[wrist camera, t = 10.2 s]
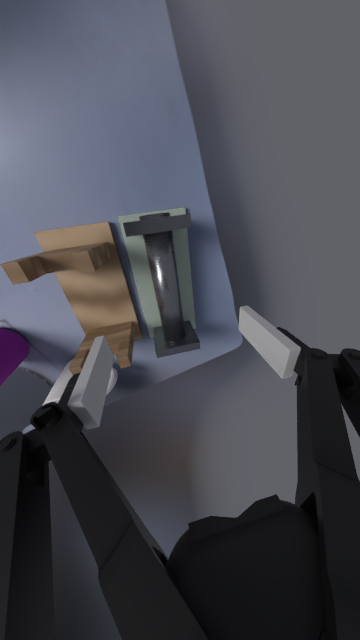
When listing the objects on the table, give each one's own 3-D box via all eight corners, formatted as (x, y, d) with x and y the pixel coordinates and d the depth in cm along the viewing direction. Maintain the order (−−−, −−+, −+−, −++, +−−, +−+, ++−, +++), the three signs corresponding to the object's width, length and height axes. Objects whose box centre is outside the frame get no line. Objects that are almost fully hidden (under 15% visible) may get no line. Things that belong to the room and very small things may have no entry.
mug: (112, 344, 35) (101, 384, 26) (127, 371, 40) (123, 413, 31) (56, 362, 35) (26, 408, 26) (78, 386, 39) (59, 433, 30)
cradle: (37, 231, 24) (-32, 236, 14) (109, 222, 25) (87, 220, 15) (94, 346, 35) (75, 391, 25) (142, 336, 35) (141, 376, 26)
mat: (118, 216, 25) (117, 216, 24) (184, 207, 26) (185, 207, 25) (150, 336, 36) (150, 338, 35) (195, 327, 37) (196, 328, 36)
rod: (127, 219, 25) (121, 217, 18) (178, 212, 25) (189, 208, 19) (155, 335, 35) (157, 359, 29) (190, 327, 36) (200, 350, 29)
